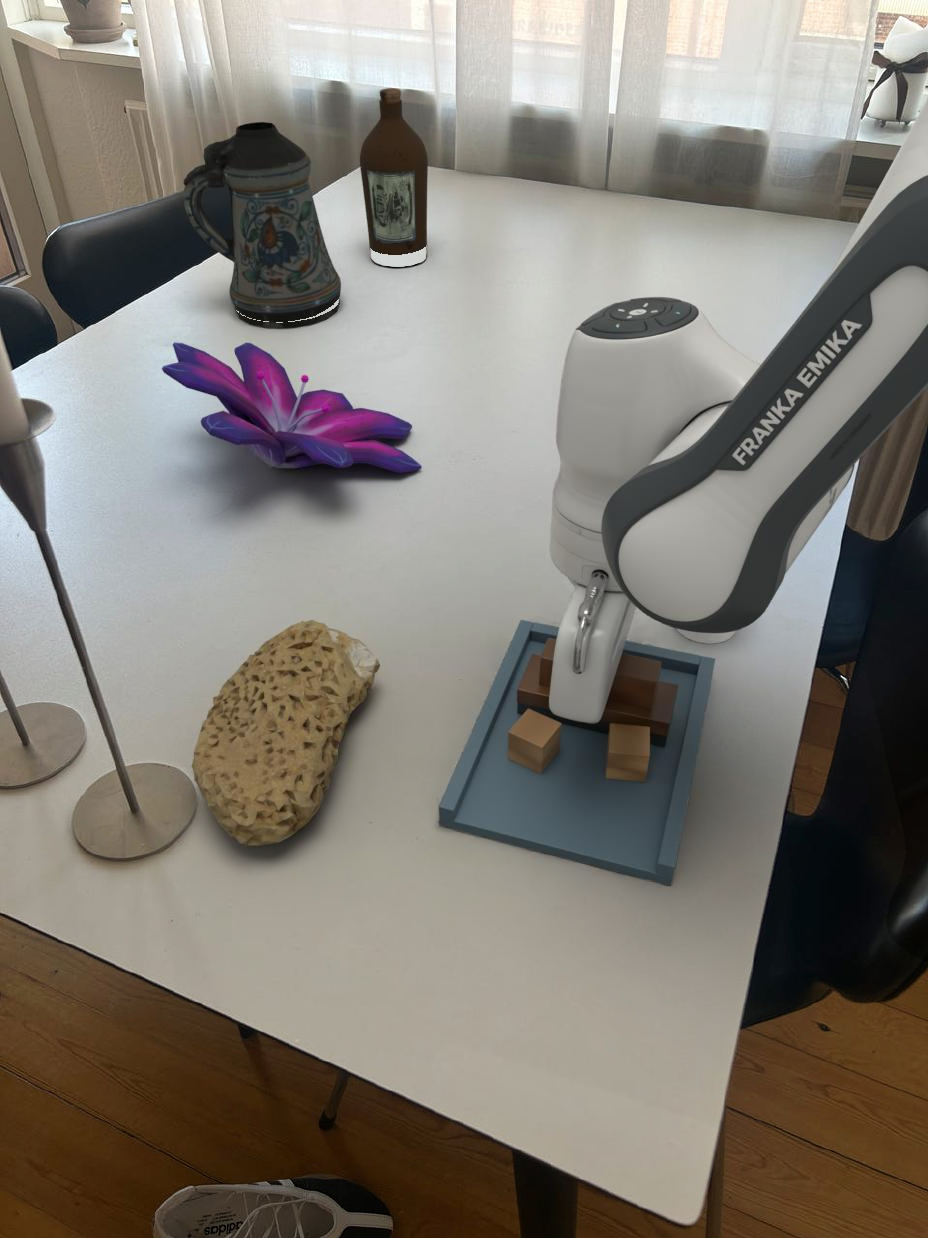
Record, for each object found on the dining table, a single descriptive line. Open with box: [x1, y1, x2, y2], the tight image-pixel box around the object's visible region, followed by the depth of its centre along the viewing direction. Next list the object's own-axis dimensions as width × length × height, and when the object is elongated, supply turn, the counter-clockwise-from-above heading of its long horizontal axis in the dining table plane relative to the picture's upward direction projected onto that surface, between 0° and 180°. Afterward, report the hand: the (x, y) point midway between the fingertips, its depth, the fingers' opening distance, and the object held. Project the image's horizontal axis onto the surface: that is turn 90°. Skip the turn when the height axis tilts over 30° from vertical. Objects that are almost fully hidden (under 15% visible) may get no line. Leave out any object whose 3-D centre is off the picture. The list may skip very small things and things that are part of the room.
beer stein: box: [182, 121, 342, 330], centre depth 136 cm, size 16×19×25 cm
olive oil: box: [359, 87, 429, 255], centre depth 153 cm, size 11×11×25 cm
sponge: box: [191, 619, 381, 846], centre depth 74 cm, size 13×8×20 cm
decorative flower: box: [161, 342, 423, 474], centre depth 108 cm, size 31×31×10 cm
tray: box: [438, 619, 716, 887], centre depth 76 cm, size 17×22×2 cm
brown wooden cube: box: [508, 709, 562, 774], centre depth 74 cm, size 3×3×3 cm
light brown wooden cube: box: [605, 723, 650, 782], centre depth 73 cm, size 3×3×3 cm
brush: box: [517, 638, 678, 747], centre depth 76 cm, size 12×4×6 cm, turn 71°
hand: (598, 679), depth 76 cm, fingers closed on brush, 2 cm apart
